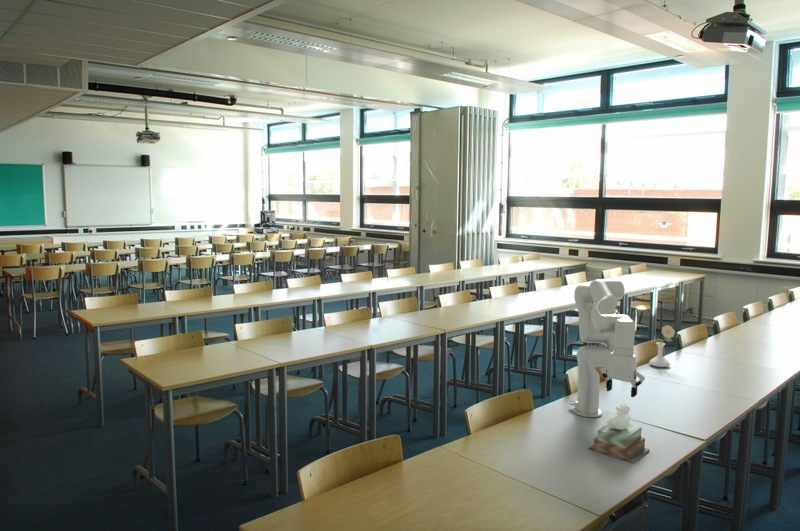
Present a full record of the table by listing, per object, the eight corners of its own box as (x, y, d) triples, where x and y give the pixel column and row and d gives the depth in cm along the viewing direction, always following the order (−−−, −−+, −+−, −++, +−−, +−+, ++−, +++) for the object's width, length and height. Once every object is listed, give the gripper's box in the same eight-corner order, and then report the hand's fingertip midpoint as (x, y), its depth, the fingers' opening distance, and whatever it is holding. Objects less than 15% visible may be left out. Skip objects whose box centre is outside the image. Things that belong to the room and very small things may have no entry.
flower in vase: (650, 367, 344) (652, 326, 341) (648, 362, 355) (650, 322, 352) (674, 369, 340) (676, 327, 337) (671, 364, 351) (673, 323, 348)
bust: (609, 437, 226) (626, 420, 220) (597, 421, 231) (613, 404, 224) (628, 430, 233) (645, 414, 226) (616, 414, 238) (632, 398, 231)
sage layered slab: (588, 449, 231) (589, 427, 230) (605, 438, 242) (606, 417, 241) (633, 463, 219) (634, 440, 218) (649, 451, 230) (650, 429, 229)
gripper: (597, 348, 229) (595, 390, 232) (641, 357, 217) (639, 401, 220) (606, 344, 235) (604, 385, 237) (649, 353, 223) (647, 396, 225)
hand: (621, 393), depth 228 cm, fingers open, 9 cm apart
